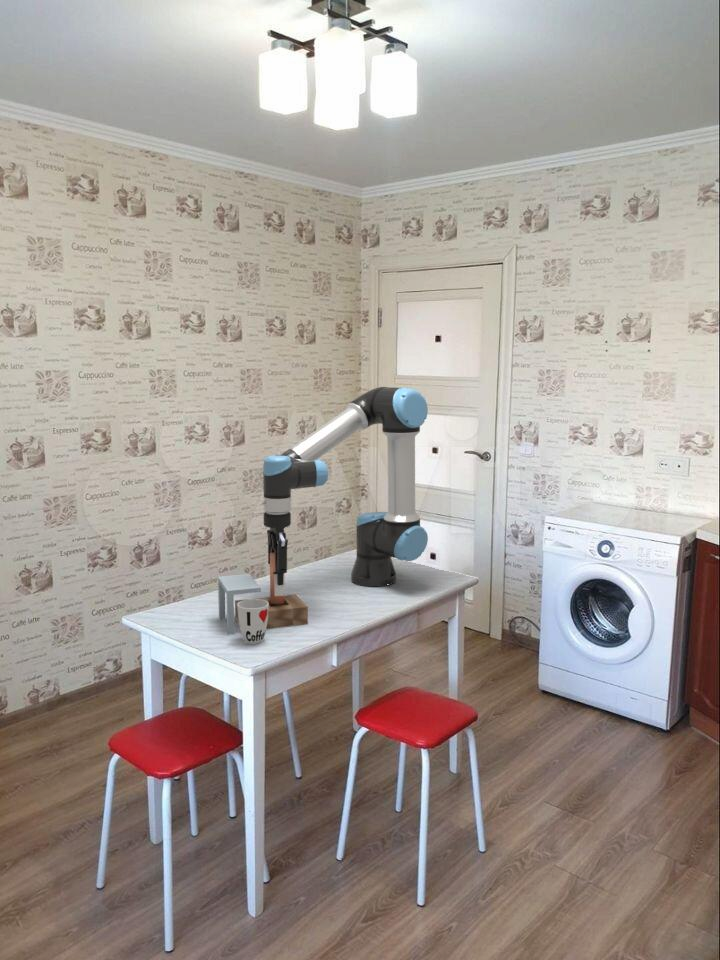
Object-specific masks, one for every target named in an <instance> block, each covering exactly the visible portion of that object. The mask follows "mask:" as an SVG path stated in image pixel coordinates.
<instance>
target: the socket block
mask: <svg viewBox="0 0 720 960" xmlns="http://www.w3.org/2000/svg"><path fill="white" fill-rule="evenodd" d="M248 599H249V598H248ZM248 599H247V598H246V599H237V600H235V599H234V619H236V621H237V622H238V624H239V619H238V606H237V604H238V603H239V602H240V601H243V600H248ZM254 599H261V600H265V601H267V602H268V603H269V607H268V621H267V627H266V630H269V629H270V630H271V629H278V628H285V627H292V626H294V627H295V626H303V625H308V624H309V622H308V621H309V619H308V618H309V617H308V615H309V613H308V611H309V610H308V609H309V608H308V605H307V604H305V602H304V601H303V600H302V599H301V598H300V597H299V596H298V595H297V593H296V594H295V593H294V594H293V593H292V594H285V595H284V603H282V604H272V603H270V596H268V597H267V596H266V597H257V598H254Z"/></svg>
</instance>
